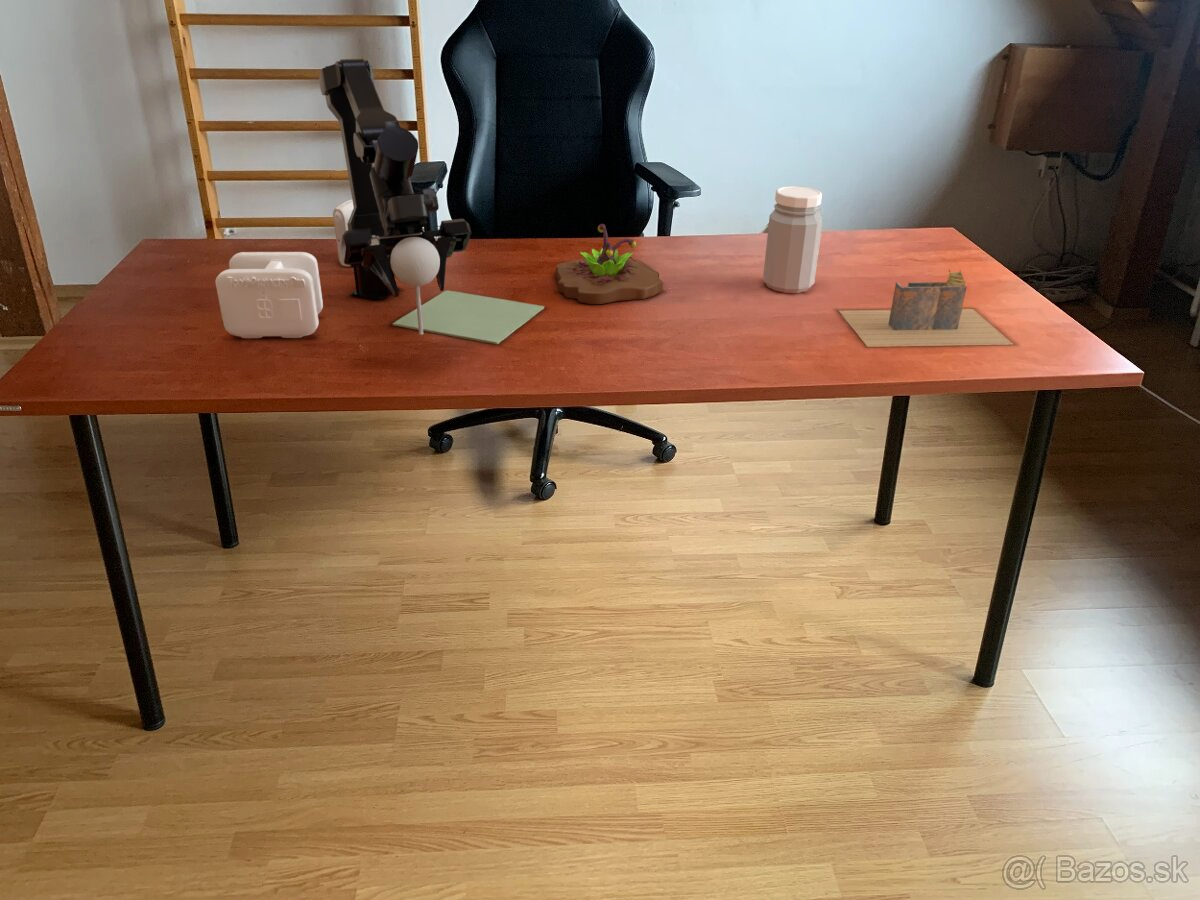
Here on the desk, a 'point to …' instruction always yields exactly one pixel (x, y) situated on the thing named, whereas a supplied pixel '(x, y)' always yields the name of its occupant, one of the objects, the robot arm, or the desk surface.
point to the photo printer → (342, 224)
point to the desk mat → (471, 316)
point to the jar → (793, 240)
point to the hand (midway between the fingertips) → (419, 292)
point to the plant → (607, 276)
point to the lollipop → (415, 266)
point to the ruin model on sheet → (925, 318)
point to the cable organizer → (270, 294)
